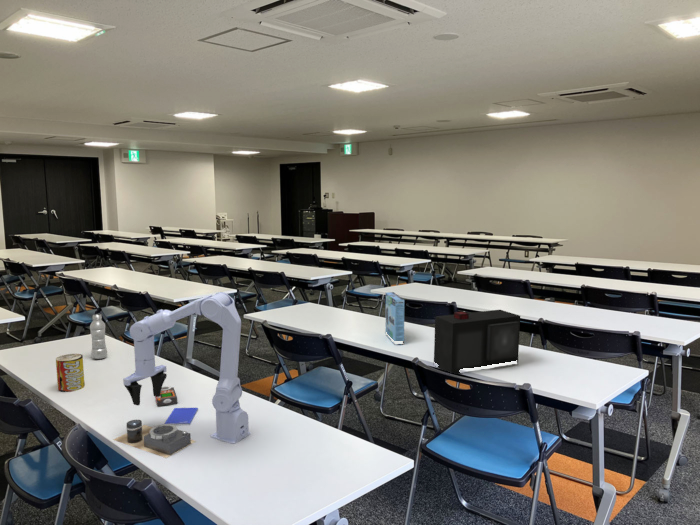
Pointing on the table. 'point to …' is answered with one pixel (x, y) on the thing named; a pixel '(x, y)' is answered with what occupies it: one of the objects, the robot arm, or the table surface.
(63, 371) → the tin can
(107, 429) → the table surface
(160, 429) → the block with segmented ring
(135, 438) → the lens
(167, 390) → the electronic device
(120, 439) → the cork mat
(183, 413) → the hard drive
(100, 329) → the plastic bottle
